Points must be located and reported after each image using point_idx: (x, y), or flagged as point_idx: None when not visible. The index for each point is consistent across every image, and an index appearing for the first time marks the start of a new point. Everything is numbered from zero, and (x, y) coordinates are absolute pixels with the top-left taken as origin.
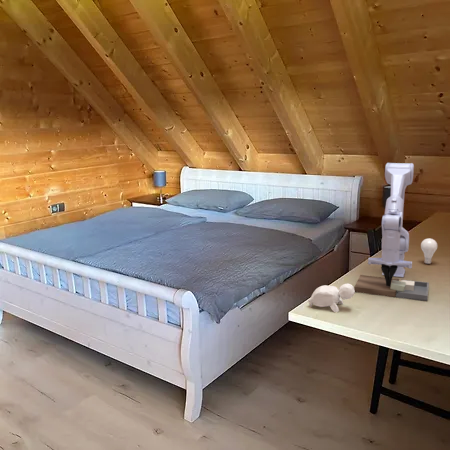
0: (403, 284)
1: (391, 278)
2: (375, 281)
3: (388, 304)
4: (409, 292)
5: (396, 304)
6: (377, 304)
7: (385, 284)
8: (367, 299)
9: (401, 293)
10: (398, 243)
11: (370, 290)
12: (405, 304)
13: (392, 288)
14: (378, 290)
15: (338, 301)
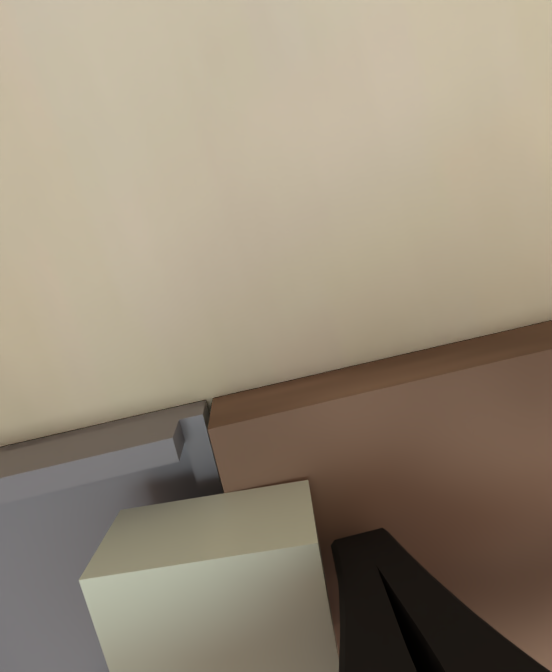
0: (132, 653)
1: (352, 668)
2: (547, 632)
3: (203, 100)
4: None
5: (112, 161)
6: (329, 14)
7: None
8: (488, 134)
9: (127, 443)
10: None
11: (533, 342)
12: (12, 229)
13: (278, 495)
14: (440, 369)
15: None
